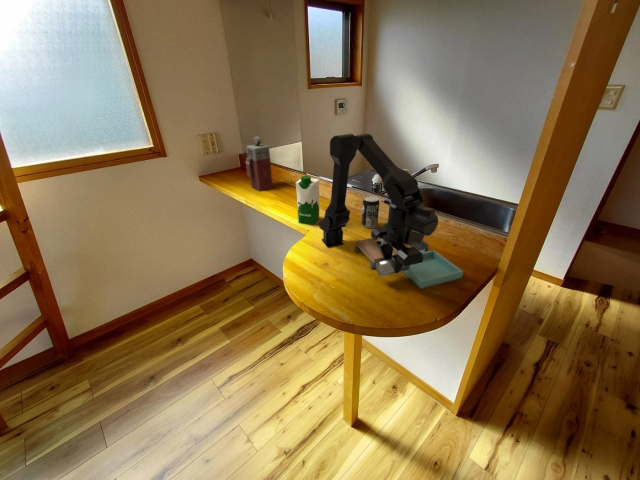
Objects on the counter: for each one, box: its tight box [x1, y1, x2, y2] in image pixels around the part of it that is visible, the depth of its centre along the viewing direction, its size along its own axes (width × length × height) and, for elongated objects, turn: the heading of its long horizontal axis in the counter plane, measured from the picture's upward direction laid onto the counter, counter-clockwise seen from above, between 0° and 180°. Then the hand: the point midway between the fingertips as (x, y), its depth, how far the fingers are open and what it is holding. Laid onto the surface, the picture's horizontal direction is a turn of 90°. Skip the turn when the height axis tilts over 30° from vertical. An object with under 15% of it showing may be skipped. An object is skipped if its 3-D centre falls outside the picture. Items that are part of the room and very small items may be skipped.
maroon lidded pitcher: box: [245, 136, 274, 192], centre depth 163 cm, size 9×11×28 cm
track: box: [354, 239, 430, 270], centre depth 104 cm, size 22×12×5 cm, turn 110°
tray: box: [402, 249, 464, 290], centre depth 95 cm, size 15×14×2 cm
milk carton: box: [295, 175, 320, 226], centre depth 126 cm, size 9×9×20 cm
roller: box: [375, 259, 410, 277], centre depth 90 cm, size 9×4×4 cm, turn 110°
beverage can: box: [361, 195, 380, 229], centre depth 123 cm, size 7×7×12 cm
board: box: [355, 237, 398, 263], centre depth 103 cm, size 10×13×3 cm
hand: (392, 268), depth 90 cm, fingers closed on roller, 4 cm apart
